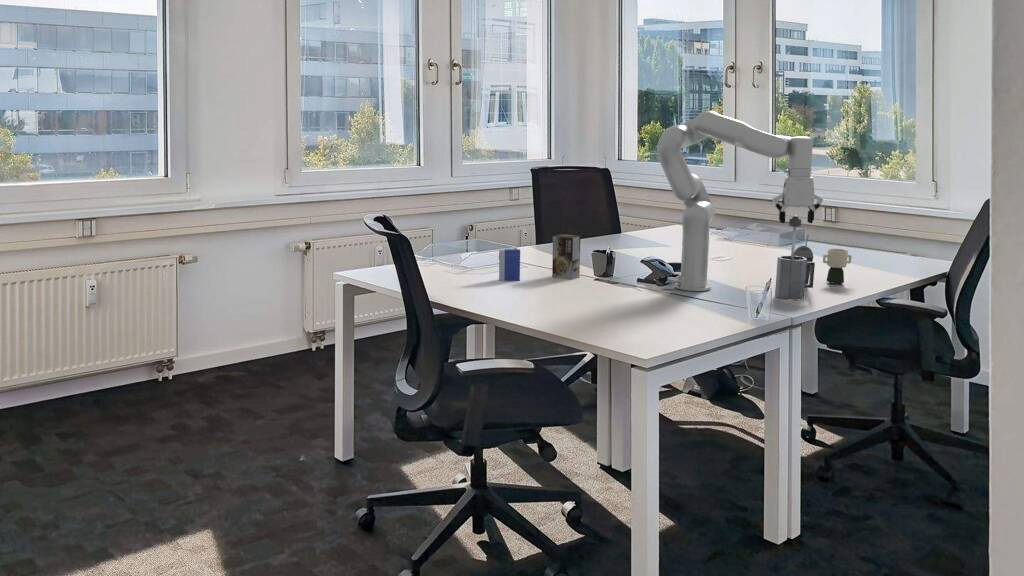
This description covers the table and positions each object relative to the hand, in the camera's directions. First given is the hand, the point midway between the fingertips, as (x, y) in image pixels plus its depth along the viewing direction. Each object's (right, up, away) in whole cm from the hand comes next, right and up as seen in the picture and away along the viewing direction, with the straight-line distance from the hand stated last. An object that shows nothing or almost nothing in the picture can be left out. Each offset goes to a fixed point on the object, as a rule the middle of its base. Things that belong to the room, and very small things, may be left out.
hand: (796, 222), depth 318 cm
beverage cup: (+9, -23, +22) cm, 33 cm away
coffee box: (-78, -19, +36) cm, 88 cm away
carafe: (+1, -26, +5) cm, 26 cm away
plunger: (-1, -18, +4) cm, 18 cm away
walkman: (-100, -20, +28) cm, 105 cm away
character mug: (+24, -21, +31) cm, 45 cm away
